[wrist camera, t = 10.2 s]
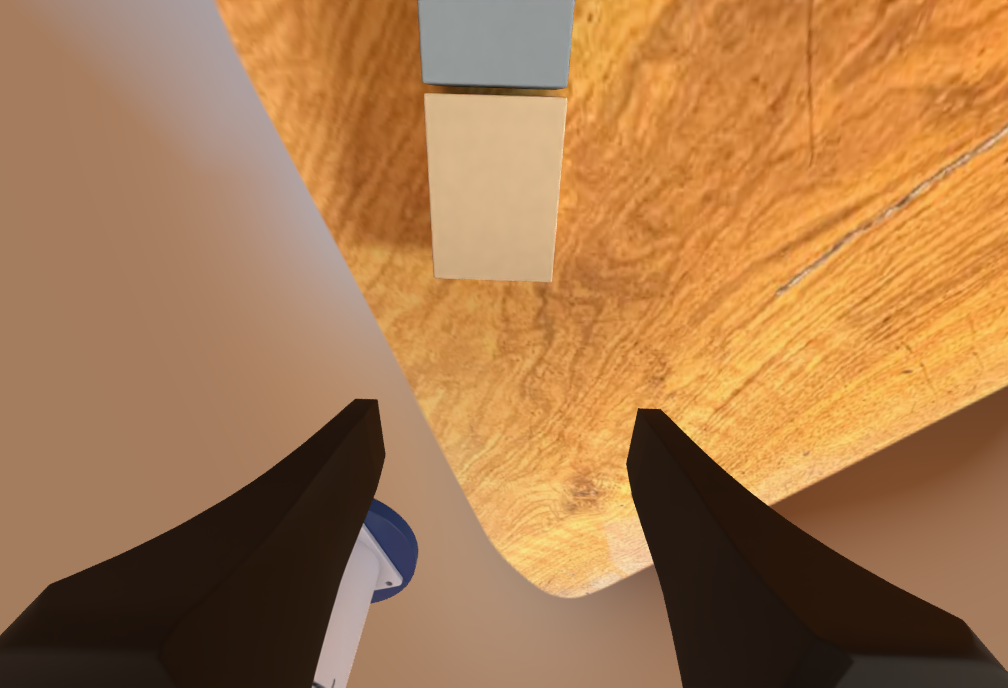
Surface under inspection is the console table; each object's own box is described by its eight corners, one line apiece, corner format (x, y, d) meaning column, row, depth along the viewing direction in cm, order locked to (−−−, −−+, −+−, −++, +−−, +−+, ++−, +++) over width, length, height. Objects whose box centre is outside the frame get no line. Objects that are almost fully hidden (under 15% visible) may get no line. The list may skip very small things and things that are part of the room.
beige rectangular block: (546, 253, 19) (552, 283, 16) (446, 250, 19) (433, 279, 16) (558, 97, 16) (567, 97, 13) (440, 93, 16) (423, 93, 13)
